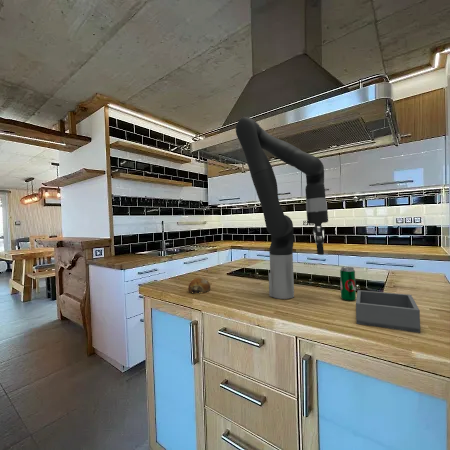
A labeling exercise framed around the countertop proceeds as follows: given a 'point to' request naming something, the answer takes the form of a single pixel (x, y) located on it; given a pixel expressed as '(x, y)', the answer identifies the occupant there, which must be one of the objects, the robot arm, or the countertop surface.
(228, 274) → the countertop surface
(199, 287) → the bread roll
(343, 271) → the soda can
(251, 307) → the countertop surface
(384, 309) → the bin
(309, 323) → the countertop surface
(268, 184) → the robot arm
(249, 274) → the countertop surface
